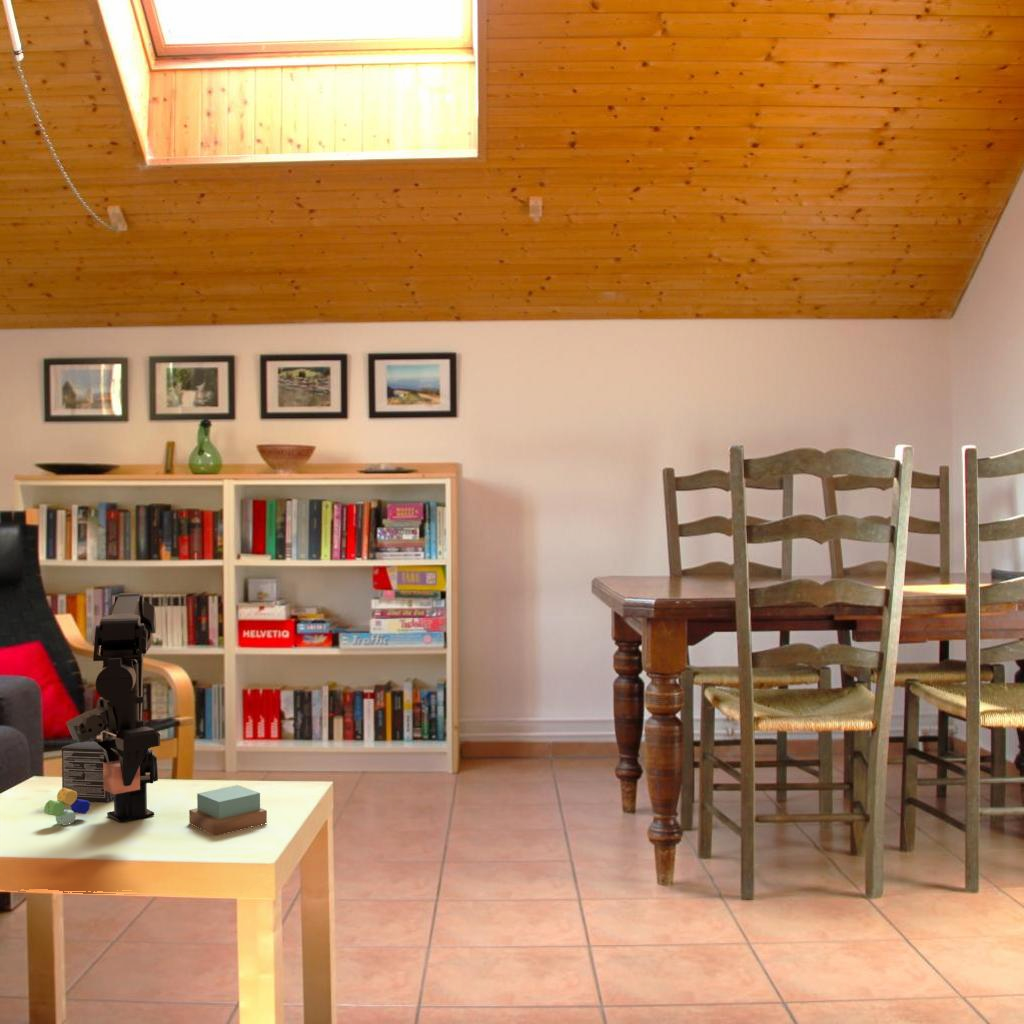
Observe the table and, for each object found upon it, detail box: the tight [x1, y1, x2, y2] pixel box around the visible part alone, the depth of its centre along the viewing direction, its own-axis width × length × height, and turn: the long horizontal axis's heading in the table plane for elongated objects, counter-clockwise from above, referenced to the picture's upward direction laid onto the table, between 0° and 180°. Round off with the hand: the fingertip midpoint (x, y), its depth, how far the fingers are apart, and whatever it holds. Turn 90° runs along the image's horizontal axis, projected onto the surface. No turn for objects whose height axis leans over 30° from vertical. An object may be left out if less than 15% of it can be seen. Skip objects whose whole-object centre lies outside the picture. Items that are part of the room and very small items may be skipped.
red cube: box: [103, 760, 140, 794], centre depth 178 cm, size 4×4×4 cm
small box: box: [61, 741, 114, 803], centre depth 206 cm, size 11×6×10 cm, turn 77°
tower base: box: [188, 807, 268, 837], centre depth 187 cm, size 10×10×3 cm
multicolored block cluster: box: [43, 788, 91, 825], centre depth 189 cm, size 8×3×6 cm, turn 145°
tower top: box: [196, 784, 261, 819], centre depth 188 cm, size 8×8×3 cm
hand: (121, 783), depth 178 cm, fingers closed on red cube, 4 cm apart
